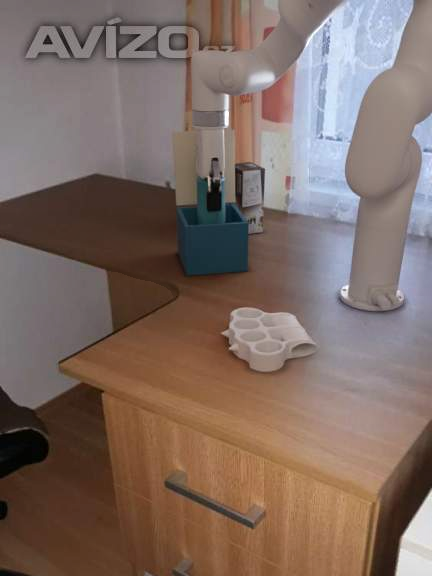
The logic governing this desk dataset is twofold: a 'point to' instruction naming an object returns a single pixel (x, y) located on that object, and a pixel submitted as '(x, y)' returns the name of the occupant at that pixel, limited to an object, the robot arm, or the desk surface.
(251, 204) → the coffee box
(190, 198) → the cooler lid
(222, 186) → the beverage bottle
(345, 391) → the desk surface
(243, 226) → the box
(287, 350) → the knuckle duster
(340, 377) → the desk surface
